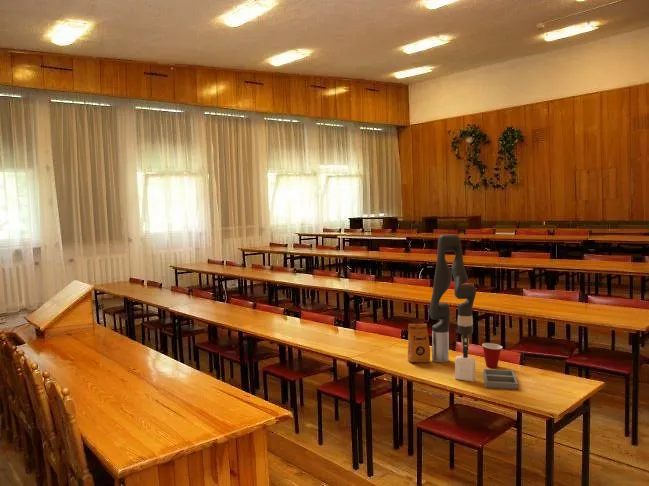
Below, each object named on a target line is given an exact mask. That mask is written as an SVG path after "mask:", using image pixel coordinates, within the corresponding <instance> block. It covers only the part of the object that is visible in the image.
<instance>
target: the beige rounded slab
mask: <svg viewBox="0 0 649 486" xmlns="http://www.w3.org/2000/svg"><path fill="white" fill-rule="evenodd" d="M454 379H455V380H460V381H467V382H472V383H473V382H475V381H476V359H475V358H474V357H472V356H469V355H468V358H464V357H463V355H457V356H456V357H455V362H454Z"/></svg>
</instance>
